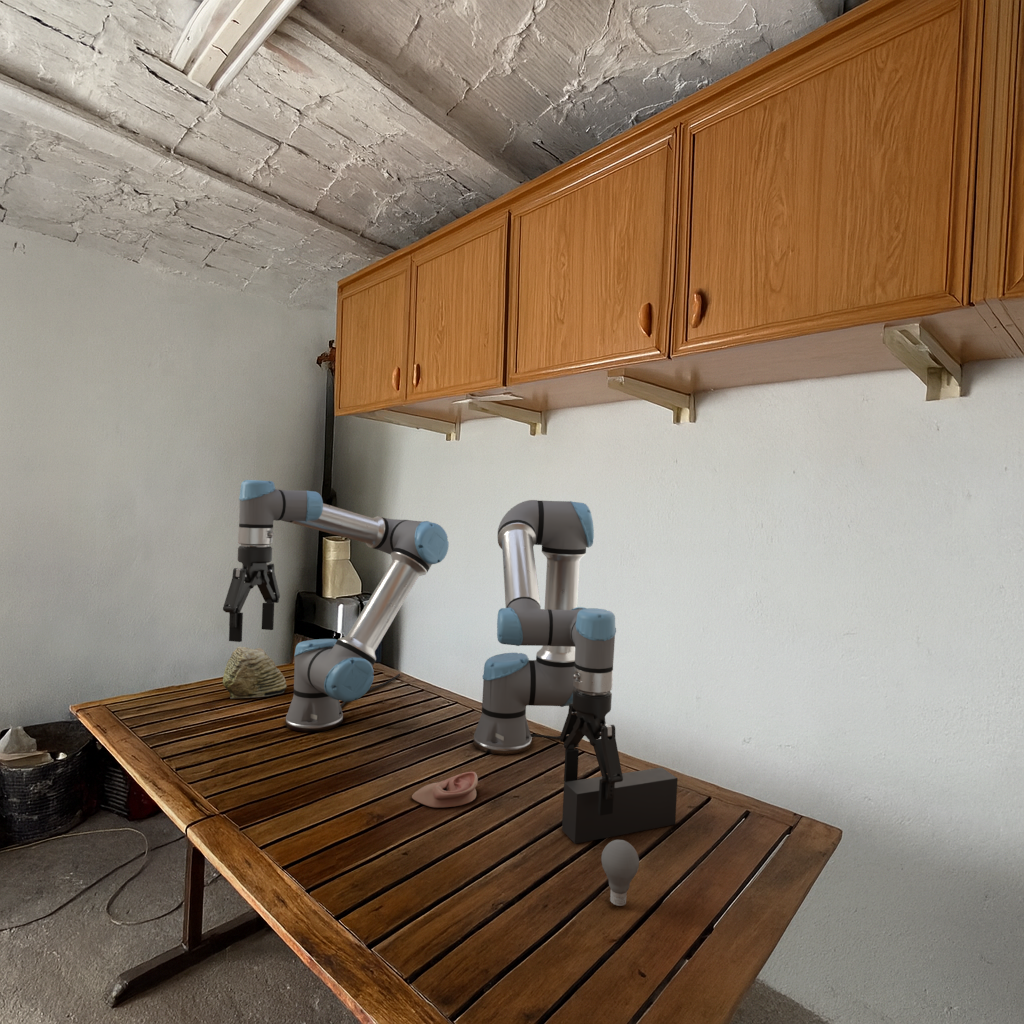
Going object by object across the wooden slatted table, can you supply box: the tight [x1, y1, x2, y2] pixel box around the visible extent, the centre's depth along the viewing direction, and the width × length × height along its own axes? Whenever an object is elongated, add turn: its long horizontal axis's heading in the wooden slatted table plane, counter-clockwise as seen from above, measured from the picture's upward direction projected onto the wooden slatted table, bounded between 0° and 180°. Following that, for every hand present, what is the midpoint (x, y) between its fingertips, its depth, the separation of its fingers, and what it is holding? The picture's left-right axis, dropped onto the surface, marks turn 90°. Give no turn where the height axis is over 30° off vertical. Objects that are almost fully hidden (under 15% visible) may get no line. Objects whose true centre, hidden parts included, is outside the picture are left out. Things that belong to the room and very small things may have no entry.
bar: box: [561, 766, 679, 845], centre depth 127 cm, size 23×5×10 cm, turn 113°
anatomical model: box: [411, 771, 479, 809], centre depth 136 cm, size 13×4×12 cm
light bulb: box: [600, 839, 640, 907], centre depth 102 cm, size 6×6×10 cm
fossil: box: [222, 646, 288, 699], centre depth 198 cm, size 9×18×15 cm, turn 132°
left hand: (252, 635), depth 150 cm, fingers open, 13 cm apart
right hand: (587, 796), depth 124 cm, fingers open, 13 cm apart
